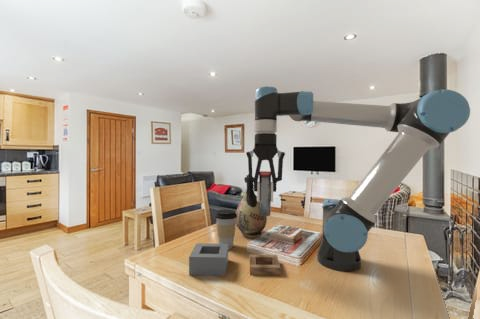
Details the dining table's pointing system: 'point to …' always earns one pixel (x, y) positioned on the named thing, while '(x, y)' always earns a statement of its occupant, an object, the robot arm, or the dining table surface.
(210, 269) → the block
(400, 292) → the dining table surface
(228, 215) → the coffee cup
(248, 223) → the ceramic jug
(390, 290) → the dining table surface
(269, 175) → the lock pin
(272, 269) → the mount collar
